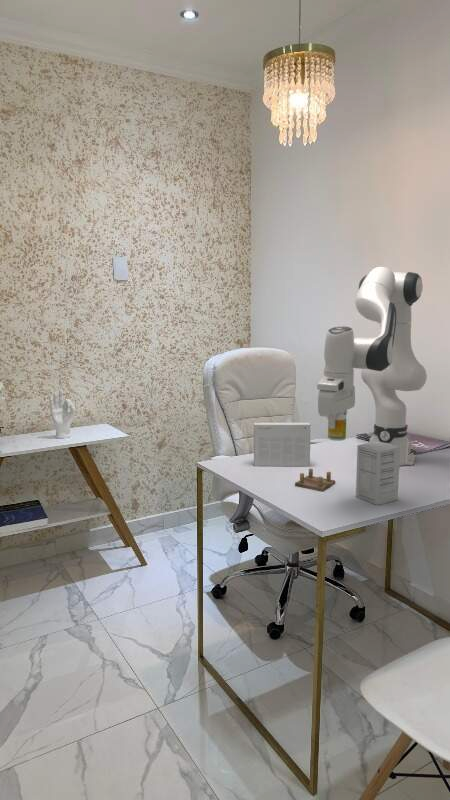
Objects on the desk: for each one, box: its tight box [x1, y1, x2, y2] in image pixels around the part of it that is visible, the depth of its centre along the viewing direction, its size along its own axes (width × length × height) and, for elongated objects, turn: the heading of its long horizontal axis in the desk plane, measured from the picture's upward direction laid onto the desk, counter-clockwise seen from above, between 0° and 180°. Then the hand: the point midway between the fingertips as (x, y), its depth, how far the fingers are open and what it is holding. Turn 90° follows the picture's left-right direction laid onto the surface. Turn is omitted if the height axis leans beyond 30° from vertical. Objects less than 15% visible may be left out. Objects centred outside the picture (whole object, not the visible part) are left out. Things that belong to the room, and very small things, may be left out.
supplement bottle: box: [327, 408, 347, 442], centre depth 169 cm, size 5×5×10 cm
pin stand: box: [294, 468, 336, 492], centre depth 186 cm, size 10×10×4 cm
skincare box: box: [253, 422, 312, 467], centre depth 209 cm, size 21×5×16 cm, turn 88°
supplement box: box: [355, 442, 400, 506], centre depth 171 cm, size 10×9×17 cm
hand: (337, 426), depth 169 cm, fingers closed on supplement bottle, 5 cm apart
